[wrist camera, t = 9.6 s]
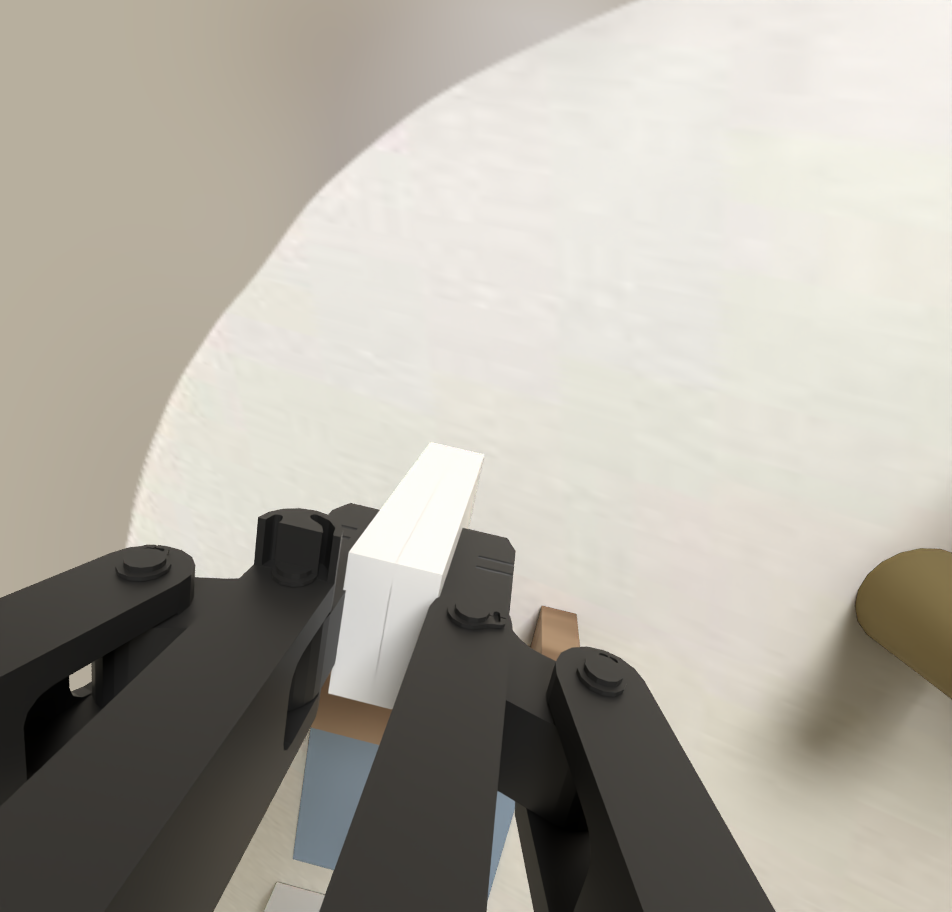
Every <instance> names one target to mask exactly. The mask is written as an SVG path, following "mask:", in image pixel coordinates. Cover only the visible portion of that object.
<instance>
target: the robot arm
mask: <svg viewBox="0 0 952 912" xmlns="http://www.w3.org/2000/svg"><path fill="white" fill-rule="evenodd" d="M484 455H485V454H481V453H476V452H472V451H468V450H463V449H459V448H454V447H450V446H446V445H441V444H437V443H433V442H430V443H429V445H428V446H427V447H426V449H425V450H424V451H423V453H422V454H421V455H420V457H419V458H418V459H417V461H416V462H415V463H414V465H413V466H412V467H411V469H410V470H409V472H408V473H407V474H406V476H405V477H404V478H403V480H402V481H401V482H400V484H399V485H398V486H397V488H396V489H395V490H394V492H393V493H392V494H391V496H390V497H389V499H388V500H387V501H386V503H385V504H384V505H383V507H382V508H381V509H380V510H378V509H374V508H369V507H365V506H361V505H357V504H352V503H349V504H347V505H344V506H342V507H339V508H336V509H334V510H332V511H331V512H330V513H329V515H327V514H324V513H321V512H318V511H314V510H307V509H300V508H298V509H280V510H276V511H271V512H268V513H266V514H264V515H262V516H260V517H258V525H257V537H256V548H255V560H254V565H253V566H252V567H251V568H250V569H249V570H248V571H247V572H246V573H244V574H243V575H242V576H241V577H240V578H239V579H220V578H198V577H195V564H194V561H193V559H192V557H191V556H190V555H188V554H187V553H185V552H184V551H182V550H179V549H175V548H171V547H168V546H161V545H158V546H156V545H144V546H138V547H129V548H126V549H122V550H119V551H116V552H113V553H110V554H107V555H105V556H102V557H100V558H97V559H95V560H92V561H90V562H88V563H85V564H83V565H80V566H78V567H75V568H73V569H70V570H68V571H65V572H63V573H60V574H58V575H56V576H53V577H51V578H48V579H46V580H43V581H41V582H39V583H36V584H34V585H31V586H29V587H26V588H24V589H21V590H19V591H16V592H14V593H11V594H9V595H6V596H4V597H2V598H0V912H213V911H214V909H215V907H216V905H217V903H218V902H219V900H220V898H221V896H222V894H223V892H224V890H225V888H226V886H227V884H228V883H229V881H230V879H231V877H232V875H233V873H234V871H235V869H236V867H237V866H238V864H239V862H240V860H241V858H242V856H243V854H244V852H245V850H246V848H247V847H248V845H249V843H250V841H251V839H252V837H253V835H254V833H255V831H256V829H257V828H258V826H259V824H260V822H261V820H262V818H263V816H264V814H265V812H266V810H267V809H268V807H269V805H270V803H271V801H272V799H273V797H274V795H275V793H276V792H277V790H278V788H279V786H280V784H281V782H282V780H283V778H284V776H285V774H286V773H287V771H288V769H289V767H290V765H291V763H292V761H293V759H294V757H295V755H296V754H297V752H298V750H299V748H300V746H301V744H302V742H303V740H304V738H305V736H306V735H307V733H308V731H309V729H310V727H311V725H312V723H313V721H314V719H315V717H316V715H317V711H318V707H319V701H320V693H321V688H322V686H323V684H324V683H325V681H326V679H327V677H328V675H329V674H330V672H331V678H330V685H329V691H328V693H329V694H333V695H337V696H341V697H345V698H349V699H353V700H357V701H360V702H364V703H368V704H372V705H376V706H380V707H384V708H388V709H392V711H391V714H390V717H389V720H388V722H387V725H386V728H385V731H384V733H383V736H382V739H381V742H380V745H379V747H378V750H377V753H376V756H375V758H374V761H373V764H372V767H371V769H370V772H369V775H368V778H367V780H366V783H365V786H364V789H363V792H362V794H361V797H360V800H359V803H358V805H357V808H356V811H355V814H354V816H353V819H352V822H351V825H350V827H349V830H348V833H347V836H346V839H345V841H344V844H343V847H342V850H341V852H340V855H339V858H338V861H337V863H336V866H335V869H334V872H333V874H332V877H331V880H330V883H329V886H328V888H327V891H326V894H325V897H324V899H323V902H322V905H321V908H320V910H319V912H486V910H487V899H488V888H489V877H490V866H491V855H492V845H493V834H494V823H495V812H496V801H497V791H499V792H500V793H502V794H504V795H505V796H507V797H509V798H510V799H512V800H514V801H515V817H516V822H517V827H518V832H519V838H520V843H521V848H522V853H523V858H524V863H525V868H526V873H527V878H528V883H529V888H530V894H531V899H532V904H533V909H534V912H775V910H774V908H773V906H772V905H771V903H770V901H769V899H768V897H767V896H766V894H765V892H764V890H763V889H762V887H761V885H760V883H759V882H758V880H757V878H756V876H755V875H754V873H753V871H752V869H751V868H750V866H749V864H748V862H747V861H746V859H745V857H744V855H743V854H742V852H741V850H740V848H739V847H738V845H737V843H736V841H735V839H734V838H733V836H732V834H731V832H730V831H729V829H728V827H727V825H726V824H725V822H724V820H723V818H722V817H721V815H720V813H719V811H718V810H717V808H716V806H715V804H714V803H713V801H712V799H711V797H710V796H709V794H708V792H707V790H706V788H705V787H704V785H703V783H702V781H701V780H700V778H699V776H698V774H697V773H696V771H695V769H694V767H693V766H692V764H691V762H690V760H689V759H688V757H687V755H686V753H685V752H684V750H683V748H682V746H681V745H680V743H679V741H678V739H677V738H676V736H675V734H674V732H673V730H672V729H671V727H670V725H669V723H668V722H667V720H666V718H665V716H664V715H663V713H662V711H661V709H660V708H659V706H658V704H657V702H656V701H655V699H654V697H653V695H652V694H651V692H650V690H649V688H648V687H647V685H646V683H645V681H644V680H643V679H642V678H641V676H640V675H639V674H638V673H637V671H636V670H635V669H634V668H633V667H632V666H630V665H629V664H627V663H626V662H625V661H623V660H622V659H621V658H619V657H617V656H615V655H613V654H610V653H609V652H606V651H604V650H600V649H595V648H591V647H572V648H570V649H567V650H565V651H563V652H561V653H560V655H559V657H558V658H557V660H556V661H555V660H553V659H551V658H549V657H547V656H545V655H542V654H540V653H539V652H537V651H535V650H533V649H532V648H530V647H529V646H527V645H526V644H525V643H524V642H522V641H521V640H520V639H519V638H518V636H517V635H516V634H515V633H514V632H513V630H512V622H511V618H510V616H509V611H510V601H511V591H512V581H513V571H514V561H515V550H514V548H513V546H512V545H511V543H510V542H509V540H508V539H507V538H504V537H500V536H496V535H491V534H487V533H483V532H479V531H474V530H470V529H469V524H470V520H471V515H472V510H473V506H474V501H475V497H476V492H477V487H478V483H479V478H480V473H481V469H482V464H483V460H484ZM90 663H92V682H90V683H89V684H87V685H85V686H84V687H81V688H79V689H76V690H74V691H70V688H69V675H71V674H73V673H74V672H76V671H78V670H80V669H81V668H83V667H85V666H87V665H88V664H90ZM331 670H332V671H331Z"/></svg>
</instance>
